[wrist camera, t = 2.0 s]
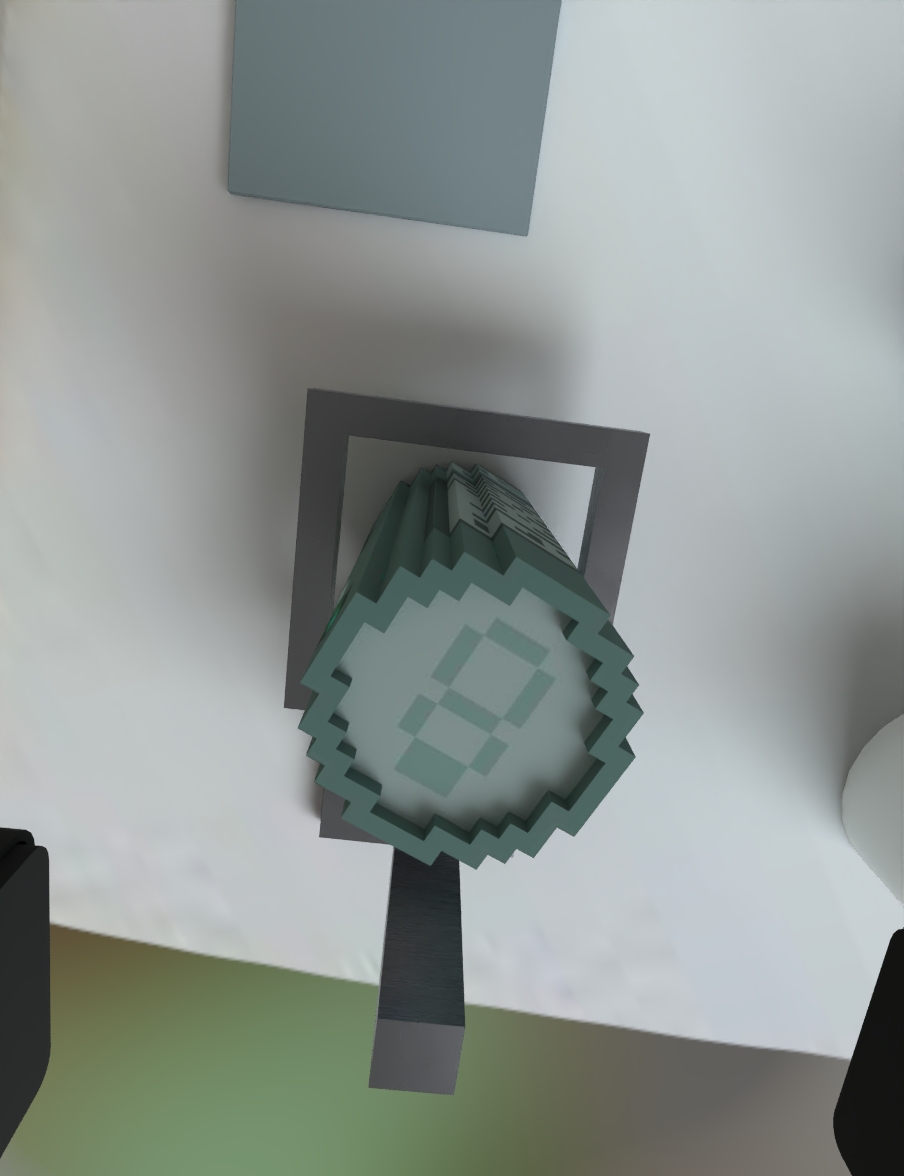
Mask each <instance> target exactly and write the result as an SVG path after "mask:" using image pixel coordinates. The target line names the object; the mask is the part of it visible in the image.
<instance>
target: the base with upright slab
mask: <svg viewBox="0 0 904 1176" xmlns="http://www.w3.org/2000/svg"><path fill="white" fill-rule="evenodd" d="M842 822H843V825H844V828H845V831H846V834H847V837H848V840H849V843H850V844H851V845H852V847H853V848H854V849H855V851H856V852H857V853H858V855H859V856H860V857H861V859H862V860H863V861H864V862H865V864H866V865H867V866H868V867H869V868H870V869H871V870H872V872H873V873H874V874H875V875H876V876H877V877H878V878H879V880H880V881H881V882H882V883H883V884H884V885H885V886H886V888H887V889H888V890H889V891H890V892H891V893H892V894H893V895H894V897H895V898H896V899H897V900H898V901H899V902H900V903H901V905H902V906H903V907H904V714H902V715H901V716H899V717H897V718H896V719H894V720H893V721H891V722H890V723H888V724H887V725H885V726H884V727H883V728H882V729H881V730H880V731H879V732H878V733H877V734H876V735H875V736H874V737H873V738H872V739H871V740H870V741H869V742H868V743H867V744H866V745H865V746H864V747H863V749H862V750H861V752H860V754H859V755H858V757H857V759H856V760H855V762H854V764H853V765H852V767H851V769H850V770H849V773H848V777H847V780H846V784H845V787H844V790H843V794H842Z"/></svg>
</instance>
